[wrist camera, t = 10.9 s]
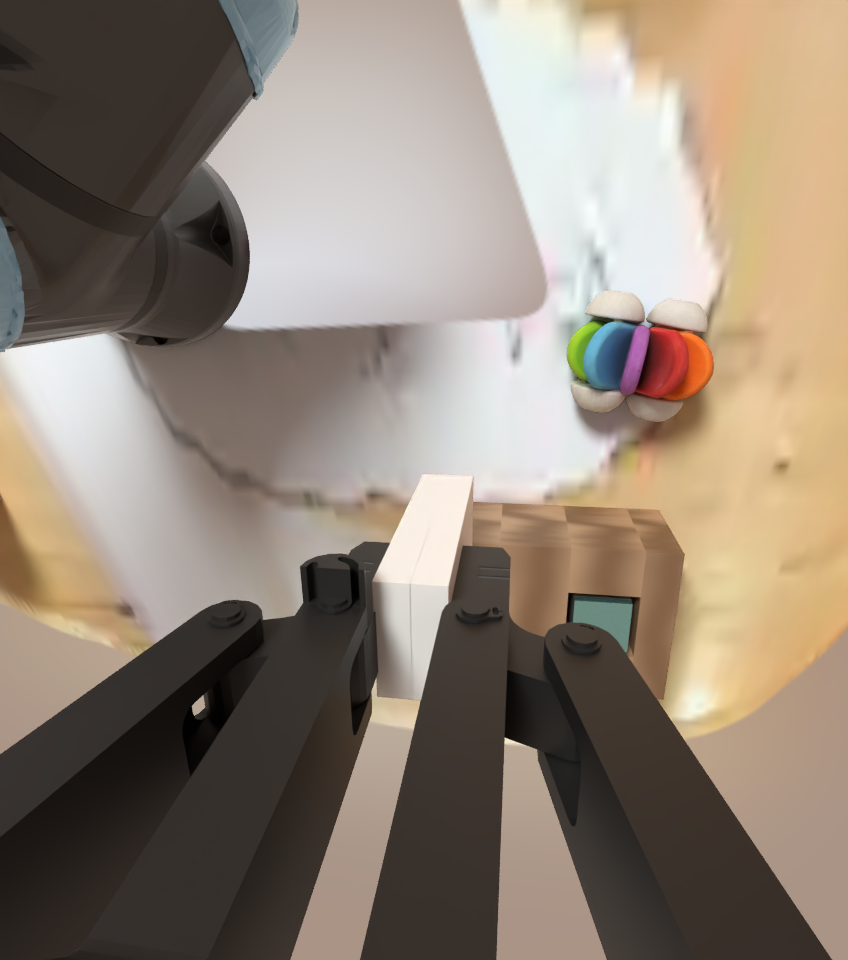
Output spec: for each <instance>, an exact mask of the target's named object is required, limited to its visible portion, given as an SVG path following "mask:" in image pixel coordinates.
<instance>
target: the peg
mask: <svg viewBox="0 0 848 960" xmlns="http://www.w3.org/2000/svg"><path fill="white" fill-rule="evenodd" d="M632 606H633V604H632V601H631V598H630V597H629V596H613V595H597V594H582V593H568V603H567V623H569V622H574V623H587V624H591V625H594V626H597V627H599V628H601V629H603V630H605V631H607V632H609V633H610V634H611V635H612V636H613V637H614V638H615V639H616V640H617V641H618V642H619V644H620V645H621V647H622V648H623V650H624V651H625V652H627V649H628V640H629V632H630V623H631V615H632Z"/></svg>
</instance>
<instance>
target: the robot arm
mask: <svg viewBox="0 0 848 960" xmlns="http://www.w3.org/2000/svg"><path fill="white" fill-rule="evenodd" d="M298 17H299V15H298V3H297V0H0V352H5V349H10V348H16V347H23V346H29V345H35V344H41V343H48V342H54V341H60V340H67V339H73V338H79V337H85V336H92V335H98V334H103V333H105V334H108V335H111V336H114V337H117V338H119V339H122V340H125V341H128V342H131V343H134V344H138V345H143V346H149V347H171V346H177V345H182V344H186V343H191V342H194V341H197V340H200V339H203V338H205V337H207V336H209V335H210V334H212V333H213V332H215V331H216V330H218V329H219V328H220V327H221V326H222V325H223V324H224V323H225V322H226V321H227V320H228V319H229V318H230V316H231V315H232V314H233V312H234V311H235V309H236V308H237V306H238V304H239V302H240V300H241V298H242V296H243V293H244V290H245V287H246V283H247V279H248V273H249V264H250V261H249V260H250V251H249V240H248V235H247V230H246V226H245V222H244V219H243V216H242V213H241V211H240V208H239V206H238V204H237V202H236V200H235V198H234V196H233V194H232V192H231V191H230V189H229V188H228V186H227V185H226V183H225V182H224V180H223V179H222V178H221V177H220V176H219V174H218V173H217V172H216V171H215V170H214V169H213V168H212V167H211V166H210V165H209V164H208V163H207V162H206V161H205V160H206V159H207V157H208V156H209V155H210V153H211V152H212V151H213V149H214V148H215V147H216V145H217V144H218V143H219V141H220V140H221V139H222V138H223V136H224V135H225V134H226V132H227V131H228V130H229V128H230V127H231V126H232V124H233V123H234V122H235V120H236V119H237V118H238V116H239V115H240V114H241V113H242V111H243V110H244V109H245V107H246V106H247V105H248V103H249V102H250V101H251V99H252V98H253V99H255V100H257V99H258V98H259V97H260V96H261V94H262V92H263V84H264V82H265V81H266V79H267V78H268V76H269V75H270V73H271V72H272V70H273V69H274V68H275V66H276V65H277V63H278V62H279V60H280V59H281V57H282V56H283V54H284V53H285V51H286V50H287V49H288V47H289V46H290V44H291V43H292V41H293V39H294V37H295V34H296V31H297V27H298ZM472 532H473V476H463V475H436V474H423V475H422V477H421V479H420V482H419V484H418V486H417V488H416V490H415V492H414V494H413V496H412V498H411V500H410V503H409V505H408V507H407V509H406V511H405V513H404V515H403V517H402V519H401V522H400V524H399V526H398V528H397V530H396V532H395V534H394V536H393V538H392V540H391V543H381V542H363V543H362V544H360V545H359V546H357V547H355V548H354V549H352V550H351V552H350V553H349V555H346V554H327V555H322V556H317V557H315V558H312V559H310V560H308V561H306V562H305V563H304V564H303V565H301V566H300V570H301V581H302V592H303V604H302V606H301V607H300V609H299V610H298V612H297V613H296V615H295V616H291V617H285V618H277V619H269V620H263V617H262V610H261V609H260V608H259V606H258V605H256V604H254V603H252V602H249V601H240V600H231V601H230V600H229V601H223V602H221V603H218V604H215V605H212V606H210V607H208V608H206V609H204V610H202V611H201V612H199V613H198V614H196V615H195V616H194V617H192V618H191V619H189V620H188V621H187V622H185V623H184V624H182V625H181V626H180V627H178V628H177V629H175V630H174V631H173V632H171V633H170V634H168V635H167V636H166V637H164V638H163V639H161V640H160V641H159V642H157V643H156V644H154V645H153V646H152V647H150V648H149V649H147V650H146V651H145V652H143V653H142V654H140V655H139V656H138V657H136V658H135V659H133V660H132V661H131V662H129V663H128V664H126V665H125V666H123V667H122V668H121V669H119V670H118V671H116V672H115V673H114V674H112V675H111V676H109V677H108V678H107V679H105V680H104V681H102V682H101V683H100V684H98V685H97V686H96V687H94V688H93V689H91V690H90V691H88V692H87V693H86V694H84V695H83V696H82V697H80V698H79V699H77V700H76V701H74V702H73V703H72V704H70V705H69V706H68V707H66V708H65V709H63V710H62V711H60V712H59V713H58V714H56V715H55V716H53V717H52V718H51V719H49V720H48V721H46V722H45V723H44V724H42V725H41V726H40V727H38V728H37V729H35V730H34V731H32V732H31V733H30V734H28V735H27V736H25V737H24V738H23V739H21V740H20V741H18V742H17V743H16V744H14V745H13V746H11V747H10V748H9V749H7V750H6V751H4V752H3V753H2V754H0V960H290V959H291V956H292V952H293V950H294V946H295V944H296V940H297V938H298V934H299V931H300V928H301V925H302V922H303V919H304V916H305V913H306V910H307V907H308V904H309V901H310V898H311V895H312V892H313V889H314V886H315V883H316V880H317V877H318V874H319V871H320V868H321V865H322V862H323V859H324V856H325V853H326V850H327V847H328V844H329V840H330V838H331V835H332V832H333V828H334V826H335V823H336V820H337V817H338V814H339V811H340V807H341V805H342V802H343V798H344V795H345V792H346V789H347V786H348V783H349V780H350V777H351V774H352V771H353V768H354V765H355V762H356V759H357V756H358V753H359V750H360V747H361V744H362V741H363V738H364V734H365V732H366V729H367V726H368V723H369V720H370V717H371V714H372V695H371V691H372V688H373V685H374V682H375V679H376V677H377V697H388V698H399V699H409V700H420V701H421V702H420V707H419V711H418V715H417V719H416V724H415V728H414V732H413V737H412V741H411V745H410V749H409V754H408V758H407V762H406V766H405V771H404V775H403V779H402V784H401V788H400V792H399V796H398V800H397V805H396V809H395V813H394V817H393V822H392V826H391V830H390V835H389V839H388V843H387V847H386V852H385V856H384V860H383V865H382V869H381V873H380V877H379V881H378V886H377V890H376V894H375V898H374V903H373V907H372V911H371V916H370V920H369V924H368V928H367V933H366V937H365V941H364V945H363V950H362V954H361V959H360V960H496V951H497V922H498V897H499V896H498V895H499V871H500V870H499V867H500V843H501V817H502V791H503V764H504V737H505V738H508V739H511V740H513V741H516V742H519V743H521V744H524V745H527V746H530V747H532V748H535V749H537V752H538V761H539V764H540V767H541V770H542V773H543V776H544V779H545V782H546V784H547V787H548V790H549V793H550V796H551V799H552V802H553V805H554V808H555V811H556V813H557V816H558V819H559V821H560V825H561V828H562V831H563V834H564V837H565V840H566V843H567V845H568V848H569V851H570V854H571V857H572V860H573V863H574V866H575V869H576V871H577V874H578V877H579V880H580V883H581V886H582V889H583V892H584V895H585V897H586V900H587V903H588V906H589V909H590V912H591V915H592V918H593V920H594V923H595V926H596V929H597V932H598V935H599V938H600V941H601V944H602V946H603V949H604V953H605V955H606V958H607V960H832V959H831V958H830V956H829V955H828V953H827V952H826V950H825V949H824V947H823V946H822V944H821V943H820V941H819V940H818V938H817V937H816V935H815V934H814V932H813V931H812V930H811V928H810V926H809V925H808V924H807V922H806V921H805V919H804V918H803V916H802V915H801V913H800V912H799V910H798V909H797V907H796V906H795V904H794V903H793V901H792V900H791V898H790V897H789V895H788V894H787V892H786V891H785V889H784V888H783V886H782V885H781V883H780V882H779V880H778V879H777V877H776V876H775V874H774V873H773V872H772V870H771V868H770V867H769V865H768V864H767V863H766V861H765V859H764V858H763V856H762V855H761V854H760V852H759V851H758V849H757V848H756V846H755V845H754V843H753V842H752V840H751V839H750V837H749V836H748V834H747V833H746V831H745V830H744V828H743V827H742V825H741V824H740V822H739V821H738V819H737V818H736V816H735V815H734V814H733V812H732V811H731V809H730V807H729V806H728V804H727V803H726V801H725V800H724V798H723V797H722V795H721V794H720V793H719V791H718V790H717V788H716V787H715V785H714V784H713V782H712V781H711V779H710V778H709V776H708V775H707V773H706V772H705V770H704V769H703V767H702V766H701V764H700V763H699V761H698V760H697V758H696V757H695V755H694V754H693V752H692V751H691V750H690V748H689V746H688V745H687V744H686V742H685V740H684V739H683V737H682V736H681V735H680V733H679V732H678V730H677V729H676V727H675V726H674V724H673V723H672V721H671V720H670V718H669V717H668V715H667V714H666V712H665V711H664V709H663V708H662V706H661V705H660V703H659V702H658V700H657V699H656V697H655V696H654V694H653V693H652V691H651V690H650V688H649V687H648V685H647V684H646V682H645V681H644V679H643V678H642V676H641V675H640V674H639V672H638V671H637V669H636V668H635V666H634V665H633V663H632V662H631V660H630V659H629V657H628V656H627V654H626V653H625V651H624V650H623V648H622V647H621V645H620V644H619V642H618V641H617V640H616V639H615V638H614V637H613V636H612V635H611V634H610V633H609V632H607V631H605V630H603V629H601V628H599V627H597V626H594V625H591V624H587V623H574V622H569V623H564V624H558V625H556V626H554V627H553V628H551V629H549V630H548V632H547V633H546V635H545V637H543V636H539V635H536V634H533V633H530V632H528V631H526V630H524V629H522V628H520V627H519V626H518V625H517V624H516V623H514V622H513V620H512V619H511V617H510V613H509V596H510V566H511V557H510V556H509V555H508V553H507V552H506V551H505V550H504V549H503V548H501V547H482V546H472ZM202 695H204V701H205V708H204V709H203V710H202V711H201V712H200V713H199V714H197V715H195V716H194V715H193V712H192V705H193V704H194V703H195V702H196V701H197V700H198V699H199V698H200V697H201V696H202ZM78 948H79V949H78ZM77 949H78V950H77ZM76 950H77V951H76Z"/></svg>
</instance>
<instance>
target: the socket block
mask: <svg viewBox="0 0 848 960" xmlns="http://www.w3.org/2000/svg"><path fill="white" fill-rule="evenodd" d="M472 546H482V547H501V548H503V549H504V550H505V551H506V552H507V553H508V555H509V556H510V557H511V566H510V596H509V613H510V617H511V619H512V620H513V622H514V623H516V624H517V625H518V626H519V627H520V628H522V629H524V630H526V631H528V632H530V633H533V634H536V635H539V636H543V637H545V635H546V633H547V632H548V630H549V629H551V628H553V627H554V626H556V625H558V624H564V623H567V603H568V593H582V594H597V595H613V596H629V597H630V598H631V601H632V604H633V606H632V615H631V623H630V632H629V640H628V649H627V652H625V653H626V654H627V656H628V657H629V659H630V660H631V662H632V663H633V665H634V666H635V668H636V669H637V671H638V672H639V674H640V675H641V676H642V678H643V679H644V681H645V682H646V684H647V685H648V687H649V688H650V690H651V691H652V693H653V694H654V696H655V697H656V699H664V692H665V685H666V678H667V672H668V665H669V658H670V651H671V644H672V637H673V631H674V624H675V617H676V610H677V603H678V596H679V590H680V583H681V576H682V569H683V562H684V555H685V554H684V553H683V551H682V549H681V547H680V546H679V544H678V542H677V540H676V539H675V537H674V535H673V534H672V532H671V530H670V528H669V527H668V525H667V523H666V521H665V520H664V518H663V516H662V514H661V513H660V511H659V510H641V509H618V508H595V507H572V506H549V505H526V504H503V503H480V502H473V532H472Z"/></svg>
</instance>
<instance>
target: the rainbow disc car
mask: <svg viewBox="0 0 848 960" xmlns="http://www.w3.org/2000/svg"><path fill="white" fill-rule="evenodd" d="M585 313H586V314H587V315H591V316H597V317H600V318H608V319H613V320H614V322H604V321H599V320H594V321H591V322H590V323H588V324H586V325H584V326H583V327H581V328H580V329H579V330H578V331H577V332H576V333H575V334H574V335H573V337H572V338H571V340H570V342H569V345H568V349H567V360H568V363H569V366H570V368H571V369H572V371H573V372H574V373H575V374H576V375H577V376H578V378H579V379H581V380H576V381H572V383H571V392H572V395H573V398H574V400H575V401H576V403H577V404H578V405H579V406H580V407H581V408H583V409H585V410H589V411H593V412H600V413H605V412H609V411H611V410H613V409H615V408H616V407H618V406H619V405H620V404H621V403H622V402H623V400H624V399H625V398H626V402H627V405H628V407H629V409H630V411H631V412H632V413H633V414H634V415H635V416H637V417H639V418H641V419H645V420H649V421H654V422H662V421H665V420H668V419H670V418H671V417H673V416H674V415H675V414H677V413H678V411H679V410H680V409H681V407H682V406H683V401H682V400H681V399H685V398H688V397H690V396H692V395H694V394H696V393H698V392H699V391H700V390H701V389H702V388H703V387H704V386H705V385H706V384H707V383H708V381H709V380H710V378H711V376H712V374H713V368H714V362H713V357H712V353H711V351H710V349H709V347H708V345H707V344H706V343H705V342H704V341H703V340H702V339H701V338H700V337H698V336H696V335H694V334H693V333H695V332H697V333H698V332H700V333H705V332H706V331H707V325H708V323H707V317H706V314H705V312H704V310H703V309H702V307H701V306H700V305H699V304H697V303H693V302H688V301H682V300H676V299H667V300H664V301H662V302H661V303H659V304H658V305H657V306H655V307H654V308H653V310H652V311H651V312H650V313H649V315H648V317H647V318H646V320H647V322H649V323H652V324H654V326H655V327H651V328H647V327H646V326H643V325H642V326H638V324H640V323H642V322H644V319H645V313H644V308H643V305H642V303H641V301H640V300H639V299H638V297H637V296H636V295H634V294H632V293H625V292H618V291H610V290H606V291H604V292H602V293H600V294H598V295H597V296H596V297H594V298H593V299H592V301H591V302H590V303H589V305H588V307H587V309H586V312H585Z"/></svg>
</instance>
